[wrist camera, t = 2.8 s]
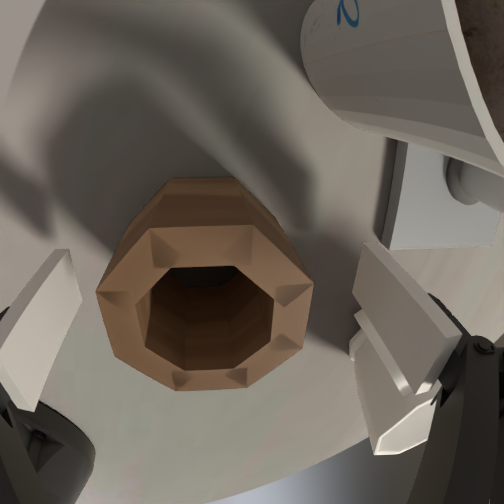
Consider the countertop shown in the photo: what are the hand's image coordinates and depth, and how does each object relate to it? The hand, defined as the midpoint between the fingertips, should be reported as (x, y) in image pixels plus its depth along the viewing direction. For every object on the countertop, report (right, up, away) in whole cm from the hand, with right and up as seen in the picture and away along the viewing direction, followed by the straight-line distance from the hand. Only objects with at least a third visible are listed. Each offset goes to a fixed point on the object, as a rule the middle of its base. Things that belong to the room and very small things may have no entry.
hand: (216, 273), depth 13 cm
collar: (-1, +1, +2) cm, 3 cm away
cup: (+10, -4, +7) cm, 13 cm away
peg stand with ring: (+14, +6, +2) cm, 16 cm away
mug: (+9, +12, -1) cm, 15 cm away
